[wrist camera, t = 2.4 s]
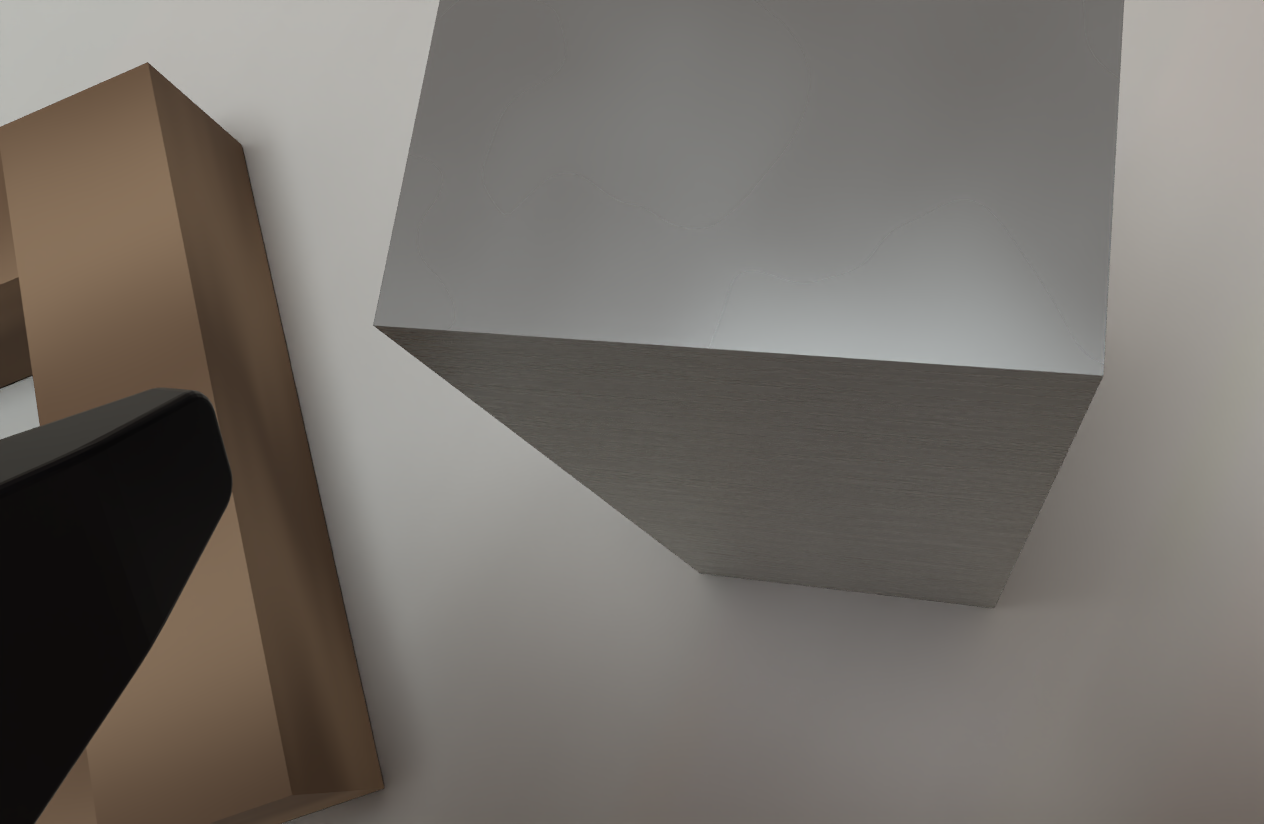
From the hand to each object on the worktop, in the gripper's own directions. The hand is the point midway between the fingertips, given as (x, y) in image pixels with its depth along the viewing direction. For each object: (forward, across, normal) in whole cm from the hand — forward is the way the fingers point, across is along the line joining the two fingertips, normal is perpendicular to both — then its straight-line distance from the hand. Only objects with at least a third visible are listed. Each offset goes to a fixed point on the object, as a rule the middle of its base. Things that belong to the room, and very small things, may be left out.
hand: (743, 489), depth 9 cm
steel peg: (+9, 0, +5) cm, 11 cm away
